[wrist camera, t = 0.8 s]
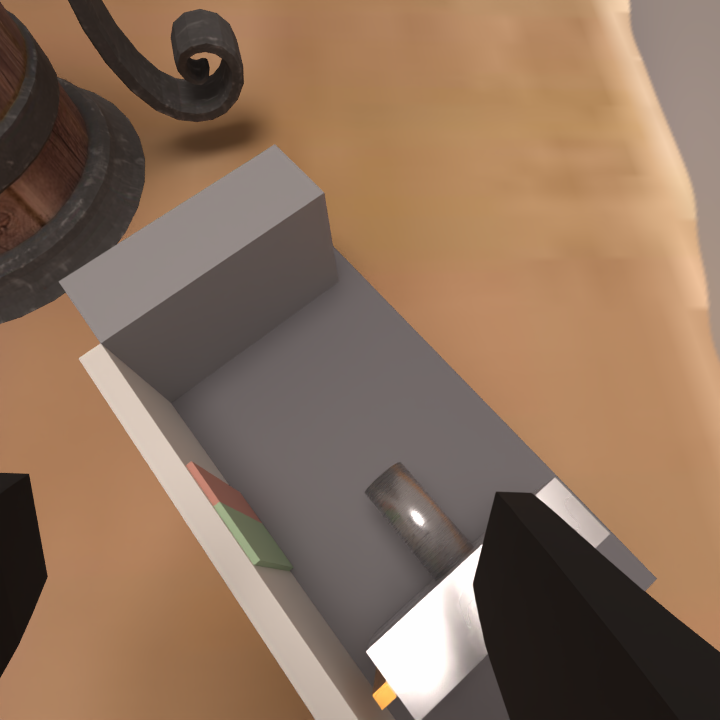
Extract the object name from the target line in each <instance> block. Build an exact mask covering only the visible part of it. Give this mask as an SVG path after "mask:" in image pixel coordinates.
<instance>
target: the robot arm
mask: <svg viewBox="0 0 720 720" xmlns="http://www.w3.org/2000/svg"><path fill="white" fill-rule="evenodd" d="M47 577H48V576H47V571H46V565H45V560H44V554H43V549H42V543H41V538H40V532H39V527H38V521H37V516H36V510H35V505H34V499H33V494H32V488H31V483H30V477H29V474H16V473H0V677H1V676H2V674H3V672H4V670H5V668H6V667H7V665H8V663H9V661H10V660H11V658H12V656H13V654H14V652H15V651H16V649H17V647H18V645H19V643H20V641H21V638H22V636H23V634H24V632H25V629H26V627H27V625H28V623H29V620H30V618H31V616H32V614H33V611H34V609H35V606H36V604H37V601H38V599H39V597H40V594H41V592H42V589H43V587H44V584H45V582H46V579H47ZM472 585H473V590H474V595H475V600H476V605H477V610H478V615H479V620H480V624H481V629H482V633H483V638H484V642H485V647H486V650H487V653H488V656H489V659H490V662H491V665H492V668H493V671H494V674H495V677H496V680H497V683H498V686H499V689H500V692H501V695H502V698H503V701H504V704H505V707H506V710H507V713H508V716H509V719H510V720H720V652H719V651H718V650H716V649H715V648H714V647H713V646H711V645H710V644H709V643H708V642H706V641H705V640H704V639H703V638H701V637H700V636H699V635H698V634H696V633H695V632H694V631H693V630H691V629H690V628H689V627H687V626H686V625H685V624H684V623H682V622H681V621H680V620H679V619H677V618H676V617H675V616H674V615H673V614H671V613H670V612H669V611H668V610H667V609H665V608H664V607H663V606H662V605H661V604H659V603H658V602H657V601H656V600H654V599H653V598H652V597H651V596H650V595H649V594H647V593H646V592H645V591H644V590H643V589H641V588H640V587H639V586H638V585H637V584H636V583H634V582H633V581H632V580H631V579H630V578H629V577H628V576H626V575H625V574H624V573H623V572H622V571H621V570H619V569H618V568H617V567H616V566H615V565H614V564H613V563H612V562H610V561H609V560H608V559H607V558H606V557H605V556H604V555H602V554H601V553H600V552H599V551H598V550H597V549H596V548H595V547H593V546H592V545H591V544H590V543H589V542H588V541H587V540H586V539H584V538H583V537H582V536H581V535H580V534H579V533H578V532H577V531H576V530H574V529H573V528H572V527H571V526H570V525H569V524H568V523H567V522H565V521H564V520H563V519H562V518H561V517H560V516H559V515H558V514H556V513H555V512H554V511H553V510H552V509H551V508H549V507H548V506H547V505H546V504H545V503H544V502H542V501H541V500H540V499H539V498H538V497H536V496H535V495H534V494H533V493H524V492H497V491H496V493H495V497H494V501H493V505H492V508H491V512H490V516H489V520H488V524H487V528H486V532H485V536H484V540H483V544H482V548H481V552H480V556H479V560H478V564H477V568H476V572H475V576H474V580H473V584H472Z"/></svg>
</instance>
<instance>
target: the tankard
mask: <svg viewBox="0 0 720 720" xmlns="http://www.w3.org/2000/svg"><path fill="white" fill-rule="evenodd" d="M68 1H69V3H70V5H71V7H72V9H73V11H74V13H75V15H76V17H77V19H78V21H79V23H80V25H81V27H82V29H83V30H84V32H85V33H86V35H87V36H88V38H89V39H90V41H91V42H92V44H93V45H94V47H95V48H96V49H97V51H98V52H99V54H100V55H101V57H102V58H103V60H104V61H105V63H106V64H107V65H108V66H109V67H110V68H111V69H112V70H113V72H114V73H115V74H116V75H117V76H118V77H119V78H120V79H121V80H122V81H123V83H124V84H125V85H126V86H127V87H128V88H129V89H130V90H131V91H132V92H133V93H134V94H136V95H137V96H138V97H140V98H141V99H142V100H143V101H145V102H146V103H147V104H148V105H150V106H151V107H152V108H154V109H155V110H156V111H159V112H161V113H163V114H166V115H168V116H170V117H173V118H175V119H178V120H184V121H193V122H200V121H207V120H213V119H215V118H217V117H219V116H221V115H223V114H225V113H226V112H227V111H228V110H229V109H230V108H231V107H232V105H233V104H234V103H235V102H236V101H237V100H238V97H239V95H240V92H241V89H242V87H243V84H244V77H243V64H242V60H241V55H240V51H239V47H238V43H237V39H236V37H235V35H234V32H233V30H232V28H231V26H230V24H229V23H228V22H227V21H226V20H224V19H223V18H222V17H221V16H219V15H218V14H217V13H214V12H210V11H206V10H202V9H198V10H194V11H189V12H185V13H183V14H182V15H181V16H180V17H179V18H178V19H177V20H176V21H174V22H173V27H172V33H171V42H172V48H173V54H174V60H175V64H176V67H177V70H178V72H179V73H180V74H181V75H182V77H183V78H184V79H185V80H184V79H177V78H174V77H172V76H170V75H168V74H166V73H164V72H162V71H160V70H158V69H157V68H156V67H155V66H154V65H153V64H152V63H150V62H149V61H148V60H147V59H146V58H145V57H144V56H143V55H142V54H140V53H139V52H138V51H137V49H136V48H135V47H134V46H133V44H132V43H131V42H130V41H129V39H128V38H127V37H126V36H125V35H124V33H123V32H122V31H121V30H120V28H119V27H118V26H117V25H116V23H115V21H114V20H113V18H112V16H111V15H110V13H109V11H108V10H107V8H106V6H105V5H104V3H103V1H102V0H68ZM202 52H208V53H213V54H216V55H218V56H219V57H220V58H222V60H221V63H220V66H219V68H218V69H217V70H216V71H215V73H214V74H213V75H211V76H209V63H208V60H207V59H206V58H201V59H198V60H194V59H191V58H190V57H191V56H192V55H194V54H196V53H202ZM144 182H145V157H144V153H143V150H142V146H141V142H140V138H139V136H138V134H137V133H136V131H135V129H134V127H133V126H132V124H131V122H130V121H129V119H128V118H127V117H126V116H125V115H124V114H123V113H122V112H121V111H120V110H119V109H118V108H117V107H116V106H115V105H114V104H112V103H111V102H109V101H107V100H106V99H104V98H102V97H101V96H99V95H97V94H96V93H93V92H90V91H88V90H85V89H82V88H79V87H77V86H75V85H73V84H72V83H70V82H68V81H67V80H64V79H61V78H58V77H57V74H56V72H55V70H54V69H53V67H52V65H51V63H50V61H49V59H48V58H47V56H46V55H45V53H44V52H43V50H42V49H41V48H40V46H39V45H38V43H37V42H36V40H35V39H34V38H33V36H32V35H31V33H30V32H29V30H28V29H27V28H26V26H25V25H24V24H23V23H22V22H21V21H20V20H19V19H18V18H17V17H16V16H15V15H14V14H12V13H10V12H9V11H7V10H6V9H5V8H4V7H3V5H2V4H1V2H0V324H1V323H4V322H7V321H10V320H13V319H17V318H20V317H22V316H24V315H26V314H28V313H30V312H32V311H34V310H36V309H38V308H40V307H42V306H44V305H46V304H48V303H50V302H52V301H54V300H56V299H57V298H58V297H60V296H61V295H63V294H64V293H66V292H65V290H64V289H63V287H62V286H61V284H60V283H59V281H60V280H62V279H63V278H65V277H67V276H68V275H70V274H71V273H73V272H74V271H76V270H78V269H79V268H81V267H82V266H84V265H85V264H87V263H89V262H90V261H92V260H93V259H95V258H97V257H98V256H100V255H101V254H103V253H104V252H106V251H108V250H109V249H111V248H112V247H114V246H115V245H116V244H117V243H118V242H119V240H120V239H121V238H122V236H123V235H124V234H125V232H126V230H127V228H128V226H129V224H130V222H131V220H132V218H133V216H134V214H135V212H136V210H137V208H138V206H139V202H140V198H141V194H142V190H143V186H144Z"/></svg>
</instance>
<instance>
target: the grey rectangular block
mask: <svg viewBox="0 0 720 720" xmlns="http://www.w3.org/2000/svg"><path fill="white" fill-rule="evenodd" d="M532 493H533V494H534V495H535V496H536V497H538V498H539V499H540V500H541V501H542V502H544V503H545V504H546V505H547V506H548V507H549V508H551V509H552V510H553V511H554V512H555V513H556V514H558V515H559V516H560V517H561V518H562V519H563V520H564V521H565V522H567V523H568V524H569V525H570V526H571V527H572V528H573V529H574V530H576V531H577V532H578V533H579V534H580V535H581V536H582V537H583V538H584V539H586V540H587V541H588V542H589V543H590V544H591V545H592V546H593V547H595V548H596V547H597V546H598V545H599V544H600V543H601V542H602V541H603V540H604V539H605V538H606V537H607V536H608V535H609V534H610V533H609V532H608V531H607V530H606V529H605V528H604V527H603V526H602V525H601V524H600V523H599V522H598V521H597V520H596V519H595V518H594V517H593V516H592V515H591V514H590V513H589V512H588V511H587V510H586V509H585V508H584V506H583V505H582V504H581V503H580V502H579V501H578V500H577V499H576V498H575V497H574V496H573V495H572V494H571V493H570V492H569V491H568V490H567V489H566V488H565V487H564V486H563V485H562V484H561V483H560V482H559V481H558V480H557V479H556V478H553V479H552V480H550V481H549V482H547V483H546V484H544V485H543V486H541V487H540V488H538V489H537V490H535V491H534V492H532ZM365 494H366V496H367V497H368V498H369V499H370V500H371V502H372V503H373V504H374V505H375V507H376V508H377V509H378V510H379V512H380V513H381V514H382V515H383V516H384V518H385V519H386V520H387V521H388V523H389V524H390V525H391V526H392V528H393V529H394V530H395V531H396V533H397V534H398V535H399V536H400V537H401V539H402V540H403V541H404V542H405V544H406V545H407V546H408V547H409V549H410V550H411V551H412V552H413V554H414V555H415V556H416V557H417V558H418V560H419V561H420V562H421V563H422V565H423V566H424V567H425V568H426V570H427V571H428V572H429V573H430V575H431V576H432V577H433V578H434V579H433V580H432V581H431V582H430V583H429V584H428V585H427V586H425V587H424V588H423V589H422V590H421V591H420V592H419V593H418V594H417V595H416V596H415V597H413V598H412V599H411V600H410V601H409V602H408V603H407V604H406V605H405V606H404V607H403V608H401V609H400V610H399V611H398V612H397V613H396V614H395V615H394V616H393V617H392V618H391V619H389V620H388V621H387V622H386V623H385V624H384V625H383V626H382V627H381V628H380V629H379V630H377V631H376V632H375V633H374V634H373V635H372V636H371V639H370V642H369V645H368V647H367V650H366V652H367V654H368V655H369V657H370V658H371V659H372V661H373V662H374V663H375V665H376V672H375V679H374V685H373V692H372V696H373V698H374V699H375V700H376V702H377V703H378V705H379V706H380V707H381V709H382V710H383V709H384V708H385V707H386V706H387V705H389V704H390V703H391V702H392V701H393V700H394V699H395V698H396V697H397V695H398V697H399V698H400V699H401V701H402V702H403V704H404V705H405V706H406V708H407V709H408V711H409V712H410V713H411V715H412V716H413V717H414V719H415V720H421V719H422V718H424V717H425V716H426V715H427V714H428V713H429V712H430V711H431V710H432V709H433V708H434V707H435V706H436V705H437V704H438V703H439V702H440V701H441V700H442V699H443V698H444V697H445V696H446V695H447V694H448V693H449V692H450V691H451V690H452V689H453V688H454V687H455V686H456V685H457V684H458V683H459V682H460V681H461V680H462V679H463V678H464V677H465V676H466V675H467V674H468V673H469V672H470V671H471V670H472V669H473V668H474V667H475V666H476V665H477V664H478V663H479V662H480V661H481V660H482V659H483V658H484V657H485V656H486V655H488V653H487V650H486V647H485V642H484V638H483V633H482V629H481V624H480V620H479V615H478V610H477V605H476V600H475V595H474V590H473V585H472V584H473V580H474V576H475V572H476V568H477V564H478V560H479V556H480V552H481V548H482V544H483V540H484V536H485V532H486V531H485V532H484V533H483V534H482V535H481V536H480V537H479V538H478V539H477V540H476V541H475V542H473V543H472V544H471V543H470V542H469V541H468V539H467V538H466V537H465V536H464V535H463V534H462V532H461V531H460V530H459V529H458V528H457V527H456V525H455V524H454V523H453V522H452V521H451V520H450V518H449V517H448V516H447V515H446V514H445V513H444V511H443V510H442V509H441V508H440V507H439V506H438V504H437V503H436V502H435V501H434V500H433V499H432V498H431V496H430V495H429V494H428V493H427V492H426V491H425V489H424V488H423V487H422V486H421V485H420V484H419V482H418V481H417V480H416V479H415V478H414V477H413V475H412V474H411V473H410V472H409V471H408V470H407V468H406V467H405V466H404V465H403V464H402V463H401V462H398V463H396V464H394V465H393V466H391V467H390V468H389V469H387V470H386V471H385V472H384V473H382V474H381V475H380V476H379V477H378V478H377V479H376V480H375V481H374V482H373V483H372V484H371V485H370V486H369V487H368V488H367V489H366V491H365ZM396 694H397V695H396Z"/></svg>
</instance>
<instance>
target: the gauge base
mask: <svg viewBox="0 0 720 720" xmlns="http://www.w3.org/2000/svg"><path fill="white" fill-rule="evenodd" d="M59 283H60V284H61V286H62V287H63V289H64V290H65V292H66V293H67V295H68V296H69V298H70V299H71V301H72V302H73V303H74V305H75V306H76V308H77V309H78V311H79V312H80V314H81V315H82V317H83V318H84V320H85V321H86V322H87V324H88V325H89V327H90V328H91V330H92V331H93V333H94V334H95V336H96V337H97V339H98V340H99V341H100V343H101V344H99V345H98V346H96V347H95V348H93V349H92V350H90V351H89V352H87V353H86V354H84V355H83V356H81V357H80V358H79V360H80V361H81V363H82V364H83V366H84V368H85V369H86V371H87V372H88V374H89V375H90V377H91V378H92V380H93V381H94V383H95V384H96V386H97V387H98V389H99V390H100V392H101V393H102V395H103V397H104V398H105V400H106V401H107V403H108V404H109V406H110V407H111V409H112V410H113V412H114V413H115V415H116V416H117V418H118V419H119V421H120V422H121V424H122V425H123V427H124V429H125V430H126V432H127V433H128V435H129V436H130V438H131V439H132V441H133V442H134V444H135V445H136V447H137V448H138V450H139V451H140V453H141V454H142V456H143V458H144V459H145V461H146V462H147V464H148V465H149V467H150V468H151V470H152V471H153V473H154V474H155V476H156V477H157V479H158V480H159V482H160V483H161V485H162V487H163V488H164V490H165V491H166V493H167V494H168V496H169V497H170V499H171V500H172V502H173V503H174V505H175V506H176V508H177V509H178V511H179V512H180V514H181V516H182V517H183V519H184V520H185V522H186V523H187V525H188V526H189V528H190V529H191V531H192V532H193V534H194V535H195V537H196V538H197V540H198V541H199V543H200V545H201V546H202V548H203V549H204V551H205V552H206V554H207V555H208V557H209V558H210V560H211V561H212V563H213V564H214V566H215V567H216V569H217V570H218V572H219V573H220V575H221V577H222V578H223V580H224V581H225V583H226V584H227V586H228V587H229V589H230V590H231V592H232V593H233V595H234V596H235V598H236V599H237V601H238V602H239V604H240V606H241V607H242V609H243V610H244V612H245V613H246V615H247V616H248V618H249V619H250V621H251V622H252V624H253V625H254V627H255V628H256V630H257V631H258V633H259V635H260V636H261V638H262V639H263V641H264V642H265V644H266V645H267V647H268V648H269V650H270V651H271V653H272V654H273V656H274V657H275V659H276V660H277V662H278V664H279V665H280V667H281V668H282V670H283V671H284V673H285V674H286V676H287V677H288V679H289V680H290V682H291V683H292V685H293V686H294V688H295V689H296V691H297V693H298V694H299V696H300V697H301V699H302V700H303V702H304V703H305V705H306V706H307V708H308V709H309V711H310V712H311V714H312V715H313V717H314V718H315V720H415V719H414V717H413V716H412V715H411V713H410V712H409V711H408V709H407V708H406V706H405V705H404V704H403V702H402V701H401V699H400V698H399V697H398V695H397V694H396V695H397V697H396V698H395V699H394V700H393V701H392V702H391V703H390V704H389V705H387V706H386V707H385V708H384V709H383V710H382V709H381V707H380V706H379V705H378V703H377V702H376V700H375V699H374V698H373V696H372V692H373V685H374V679H375V672H376V665H375V663H374V662H373V661H372V659H371V658H370V657H369V655H368V654H367V652H366V650H367V647H368V645H369V642H370V639H371V636H372V635H373V634H374V633H375V632H376V631H377V630H379V629H380V628H381V627H382V626H383V625H384V624H385V623H386V622H387V621H388V620H389V619H391V618H392V617H393V616H394V615H395V614H396V613H397V612H398V611H399V610H400V609H401V608H403V607H404V606H405V605H406V604H407V603H408V602H409V601H410V600H411V599H412V598H413V597H415V596H416V595H417V594H418V593H419V592H420V591H421V590H422V589H423V588H424V587H425V586H427V585H428V584H429V583H430V582H431V581H432V580H433V579H434V578H433V577H432V576H431V575H430V573H429V572H428V571H427V570H426V568H425V567H424V566H423V565H422V563H421V562H420V561H419V560H418V558H417V557H416V556H415V555H414V554H413V552H412V551H411V550H410V549H409V547H408V546H407V545H406V544H405V542H404V541H403V540H402V539H401V537H400V536H399V535H398V534H397V533H396V531H395V530H394V529H393V528H392V526H391V525H390V524H389V523H388V521H387V520H386V519H385V518H384V516H383V515H382V514H381V513H380V512H379V510H378V509H377V508H376V507H375V505H374V504H373V503H372V502H371V500H370V499H369V498H368V497H367V496H366V494H365V491H366V489H367V488H368V487H369V486H370V485H371V484H372V483H373V482H374V481H375V480H376V479H377V478H378V477H379V476H380V475H381V474H382V473H384V472H385V471H386V470H387V469H389V468H390V467H391V466H393V465H394V464H396V463H398V462H401V463H402V464H403V465H404V466H405V467H406V468H407V470H408V471H409V472H410V473H411V474H412V475H413V477H414V478H415V479H416V480H417V481H418V482H419V484H420V485H421V486H422V487H423V488H424V489H425V491H426V492H427V493H428V494H429V495H430V496H431V498H432V499H433V500H434V501H435V502H436V503H437V504H438V506H439V507H440V508H441V509H442V510H443V511H444V513H445V514H446V515H447V516H448V517H449V518H450V520H451V521H452V522H453V523H454V524H455V525H456V527H457V528H458V529H459V530H460V531H461V532H462V534H463V535H464V536H465V537H466V538H467V539H468V541H469V542H470V543H471V544H472V543H473V542H475V541H476V540H477V539H478V538H479V537H480V536H481V535H482V534H483V533H484V532H485V531H486V528H487V524H488V520H489V516H490V512H491V508H492V505H493V501H494V497H495V493H496V491H497V492H524V493H532V492H534V491H535V490H537V489H538V488H540V487H541V486H543V485H544V484H546V483H547V482H549V481H550V480H552V479H553V478H556V479H557V480H558V481H559V482H560V483H561V484H562V485H563V486H564V487H565V488H566V489H567V490H568V491H569V492H570V493H571V494H572V495H573V496H574V497H575V498H576V499H577V500H578V501H579V502H580V503H581V504H582V505H583V506H584V508H585V509H586V510H587V511H588V512H589V513H590V514H591V515H592V516H593V517H594V518H595V519H596V520H597V521H598V522H599V523H600V524H601V525H602V526H603V527H604V528H605V529H606V530H607V531H608V532H609V533H610V534H609V535H608V536H607V537H606V538H605V539H604V540H603V541H602V542H601V543H600V544H599V545H598V546H597V547H596V549H597V550H598V551H599V552H600V553H601V554H602V555H604V556H605V557H606V558H607V559H608V560H609V561H610V562H612V563H613V564H614V565H615V566H616V567H617V568H618V569H619V570H621V571H622V572H623V573H624V574H625V575H626V576H628V577H629V578H630V579H631V580H632V581H633V582H634V583H636V584H637V585H638V586H639V587H640V588H641V589H643V590H644V591H646V590H647V589H648V588H649V587H650V585H651V584H652V583H653V582H654V581H655V580H656V579H657V578H656V577H655V576H654V575H653V574H652V573H651V572H650V571H649V570H648V569H647V568H646V567H645V566H644V565H643V564H642V563H641V562H640V561H639V560H638V559H637V558H636V557H635V556H634V555H633V554H632V553H631V552H630V551H629V550H628V548H627V547H626V546H625V545H624V544H623V543H622V542H621V541H620V540H619V539H618V538H617V537H616V536H615V535H614V534H613V533H612V532H611V531H610V530H609V529H608V528H607V527H606V526H605V525H604V524H603V523H602V522H601V521H600V520H599V519H598V518H597V517H596V516H595V515H594V514H593V513H592V512H591V510H590V509H589V508H588V507H587V506H586V505H585V504H584V503H583V502H582V501H581V500H580V499H579V498H578V497H577V496H576V495H575V494H574V493H573V492H572V491H571V490H570V489H569V488H568V487H567V486H566V485H565V484H564V483H563V482H562V481H561V480H560V479H559V478H558V477H557V476H556V475H555V474H554V472H553V471H552V470H551V469H550V468H549V467H548V466H547V465H546V464H545V463H544V462H543V461H542V460H541V459H540V458H539V457H538V456H537V455H536V454H535V453H534V452H533V451H532V450H531V449H530V448H529V447H528V446H527V445H526V444H525V443H524V442H523V441H522V440H521V439H520V438H519V437H518V435H517V434H516V433H515V432H514V431H513V430H512V429H511V428H510V427H509V426H508V425H507V424H506V423H505V422H504V421H503V420H502V419H501V418H500V417H499V416H498V415H497V414H496V413H495V412H494V411H493V410H492V409H491V408H490V407H489V406H488V405H487V404H486V403H485V402H484V401H483V400H482V399H481V397H480V396H479V395H478V394H477V393H476V392H475V391H474V390H473V389H472V388H471V387H470V386H469V385H468V384H467V383H466V382H465V381H464V380H463V379H462V378H461V377H460V376H459V375H458V374H457V373H456V372H455V371H454V370H453V369H452V368H451V367H450V366H449V365H448V364H447V363H446V362H445V361H444V359H443V358H442V357H441V356H440V355H439V354H438V353H437V352H436V351H435V350H434V349H433V348H432V347H431V346H430V345H429V344H428V343H427V342H426V341H425V340H424V339H423V338H422V337H421V336H420V335H419V334H418V333H417V332H416V331H415V330H414V329H413V328H412V327H411V326H410V325H409V324H408V323H407V321H406V320H405V319H404V318H403V317H402V316H401V315H400V314H399V313H398V312H397V311H396V310H395V309H394V308H393V307H392V306H391V305H390V304H389V303H388V302H387V301H386V300H385V299H384V298H383V297H382V296H381V295H380V294H379V293H378V292H377V291H376V290H375V289H374V288H373V287H372V286H371V284H370V283H369V282H368V281H367V280H366V279H365V278H364V277H363V276H362V275H361V274H360V273H359V272H358V271H357V270H356V269H355V268H354V267H353V266H352V265H351V264H350V263H349V262H348V261H347V260H346V259H345V258H344V257H343V256H342V255H341V254H340V253H339V252H338V251H337V250H336V249H335V248H334V246H333V244H332V237H331V231H330V225H329V219H328V213H327V207H326V201H325V194H324V192H323V191H322V190H321V189H320V188H319V187H318V186H317V185H316V184H315V183H314V182H313V181H312V180H311V179H310V178H309V177H308V176H307V175H306V174H305V173H304V172H303V171H302V170H301V169H300V168H299V167H298V166H297V165H296V164H295V163H293V162H292V161H291V160H290V159H289V158H288V157H287V156H286V155H285V154H284V153H283V152H282V151H281V150H280V149H279V148H278V147H277V146H276V145H273V146H271V147H270V148H268V149H267V150H265V151H264V152H262V153H260V154H259V155H257V156H256V157H254V158H253V159H251V160H249V161H248V162H246V163H245V164H243V165H241V166H240V167H238V168H237V169H235V170H234V171H232V172H230V173H229V174H227V175H226V176H224V177H223V178H221V179H219V180H218V181H216V182H215V183H213V184H212V185H210V186H208V187H207V188H205V189H204V190H202V191H201V192H199V193H197V194H196V195H194V196H193V197H191V198H189V199H188V200H186V201H185V202H183V203H182V204H180V205H178V206H177V207H175V208H174V209H172V210H171V211H169V212H167V213H166V214H164V215H163V216H161V217H160V218H158V219H156V220H155V221H153V222H152V223H150V224H149V225H147V226H145V227H144V228H142V229H141V230H139V231H137V232H136V233H134V234H133V235H131V236H130V237H128V238H126V239H125V240H123V241H122V242H120V243H119V244H117V245H115V246H114V247H112V248H111V249H109V250H108V251H106V252H104V253H103V254H101V255H100V256H98V257H97V258H95V259H93V260H92V261H90V262H89V263H87V264H85V265H84V266H82V267H81V268H79V269H78V270H76V271H74V272H73V273H71V274H70V275H68V276H67V277H65V278H63V279H62V280H60V281H59ZM421 720H510V719H509V716H508V713H507V710H506V707H505V704H504V701H503V698H502V695H501V692H500V689H499V686H498V683H497V680H496V677H495V674H494V671H493V668H492V665H491V662H490V659H489V656H488V655H486V656H485V657H484V658H483V659H482V660H481V661H480V662H479V663H478V664H477V665H476V666H475V667H474V668H473V669H472V670H471V671H470V672H469V673H468V674H467V675H466V676H465V677H464V678H463V679H462V680H461V681H460V682H459V683H458V684H457V685H456V686H455V687H454V688H453V689H452V690H451V691H450V692H449V693H448V694H447V695H446V696H445V697H444V698H443V699H442V700H441V701H440V702H439V703H438V704H437V705H436V706H435V707H434V708H433V709H432V710H431V711H430V712H429V713H428V714H427V715H426V716H425V717H424V718H422V719H421Z"/></svg>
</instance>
